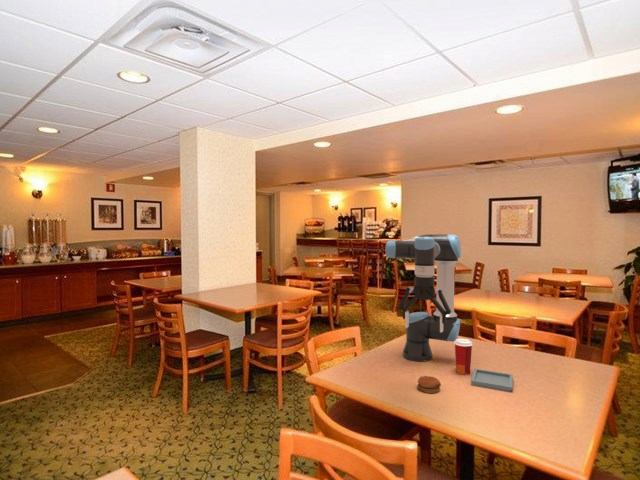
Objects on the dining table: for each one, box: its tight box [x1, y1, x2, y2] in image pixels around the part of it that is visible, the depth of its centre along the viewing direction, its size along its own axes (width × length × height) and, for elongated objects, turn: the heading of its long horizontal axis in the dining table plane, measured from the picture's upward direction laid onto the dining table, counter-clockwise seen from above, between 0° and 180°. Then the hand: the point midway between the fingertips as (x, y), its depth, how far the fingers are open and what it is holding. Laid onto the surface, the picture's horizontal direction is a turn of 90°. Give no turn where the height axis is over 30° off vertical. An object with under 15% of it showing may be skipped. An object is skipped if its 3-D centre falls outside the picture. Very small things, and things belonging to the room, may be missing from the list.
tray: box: [470, 368, 514, 393], centre depth 168 cm, size 16×16×2 cm
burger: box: [417, 375, 442, 394], centre depth 161 cm, size 10×9×5 cm
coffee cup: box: [453, 338, 473, 375], centre depth 179 cm, size 8×8×15 cm
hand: (423, 329), depth 151 cm, fingers open, 13 cm apart
